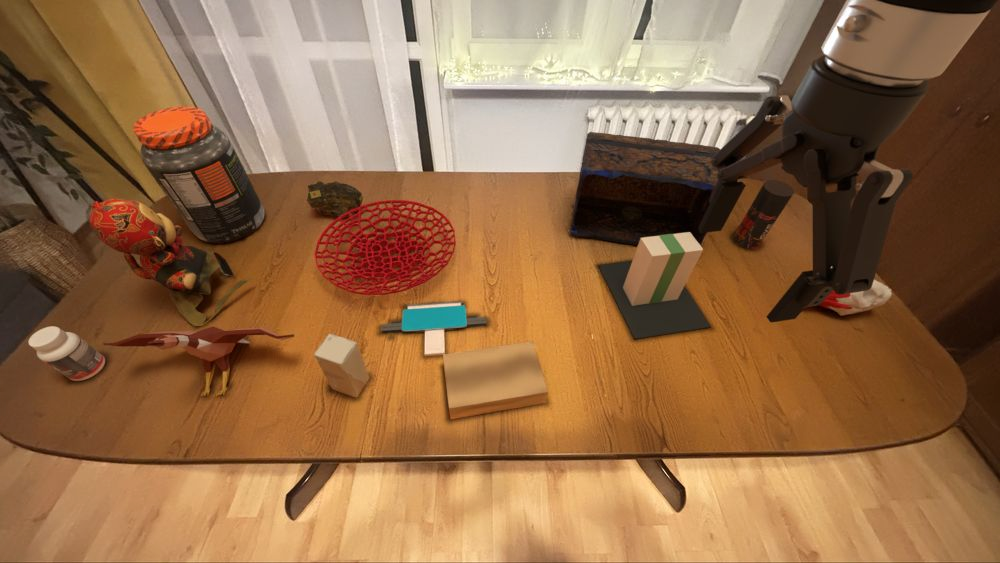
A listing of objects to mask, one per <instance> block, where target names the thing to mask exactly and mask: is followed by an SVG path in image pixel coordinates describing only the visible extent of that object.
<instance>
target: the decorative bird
mask: <svg viewBox="0 0 1000 563" xmlns="http://www.w3.org/2000/svg"><path fill="white" fill-rule="evenodd" d="M248 336H268V337H271V338H273V339H276V340H279V341H284V340H288V339H292V338H295V334H293V333H292V334H285V335H279V334H278V333H276V332H274V331H272V330H269V329H267V328H265V327H247V328H233V329H228V330H227V329H226V330H224V329H221V328H219V327H216V326H214V325H212V326H210V327H207V328H204V329H201V330H198V331H195V330H194V331H193V330H192V331H191V330H177V331H175V330H174V331H173V330H172V331H157V332H147V333H138V334H135V335H132V336H130V337H127V338H124V339H121V340H119V341H115V342H103V343H102V344H103V345H104V346H111V347H122V348H123V347H124V348H125V347H156V348H157V349H160V350H162V351H163V350H164V351H165V350H170V349H172V348H182V349H185V350H186V352H187V353H188V354H189V355H192V356H194V357H197V358H200V359H201V362H202V364H203V368H204V371H205V390H204V391H203V392H202V393H201V394H200V397H206V396H207V397H209V395H210V392H211V387H210V386H211V383H212V380H213V376H214V373H215V365H217V366H218V368H219V369H220V370H221V372H222V389H221V390H220V391H218V392H217V393H216V394H215V396H218V395H219V397H220V396H222V394H223V396H225V395H226V392H227V390H228V388H229V386H227V383H228V380H229V376H230V371H231V367H230V353H232V352H233V350H234V347H235V346H236V345H250V341H249V340H248V339H245V338H246V337H248Z"/></svg>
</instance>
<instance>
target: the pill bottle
mask: <svg viewBox="0 0 1000 563" xmlns="http://www.w3.org/2000/svg"><path fill="white" fill-rule="evenodd" d="M27 344H28V345H29V346H30V347H31V348H32V349H33V350H35V351H36V356H37V358H38V359H39V360H40V361H42V362H43V363H45V364H46V365H48V366H50V367H52V369H54V370H55V371H57V372H59V373H60V374H61V375H63V376H65V377H66V378H68V379H69V380H70V381H74V382H80V381H86V380H88V379H91V378H92V377H94V376H96V375H97V374H98V373H100V372H101V370H102V369H104V366H105V364H106V358H105V356H104V355H103V354H102V353H100V352H99V351H98V350H97V349H96V348H94V347H93V346H91V345H90V344H89V342H87V341H86V340H84V339H83V338H81V336H79V335H78V334H76V333H74V332H71V331H64V330H63V329H62V328H60V327H58V326H54V325H51V326H46V327H43V328H41V329H39V330H37V331H36V332H33V334H32V335H31V336H30V337H29V339H28V343H27Z"/></svg>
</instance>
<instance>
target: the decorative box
mask: <svg viewBox="0 0 1000 563" xmlns="http://www.w3.org/2000/svg"><path fill="white" fill-rule="evenodd" d="M720 149H721V148H719V147H717V146H711V145H703V144H696V143H695V144H694V143H688V142H680V141H679V142H678V141H670V140H667V139H653V138H649V137H639V136H631V135H624V134H613V133H606V132H595V131H589V132H587V134H586V138H585V143H584V147H583V153H582V158H581V159H582V160H581V166H580V171H579V175H578V176H579V177H578V182H577V188H576V192H575V199H574V202H573V205H574V206H573V210H572V218H571V223H570V229H569V230H570V231H569V233H570V235H571V236H574V237H586V238H587V237H588V238H592V239H598V240H604V241H611V242H617V243H623V244H631V245H637V246H638V244H639V241H640V239H641V238H644V237H652V236H659V235H666V234H677V233H686V232H690V233H691V234H692V235H693V237H694V238H695V239H696V241H697V242H698V243H699V245H700V246H701V247H702V244H703V242H704V239H705V237H706V236H707V234H708V232H706V233H700V231H699V230H698V228H699V225H700V223H701V221H702V219H703V217H704V215H705V213H706V211H707V209H708V207H709V205H710V201H709V200H710V196H711V194H712V192H713V190H714V187H715V185H716V183H717V181H718V178H717V174H718V172H719V171H718V169H717V167H713V166H712V165H711V159H712V157H713V156H714V155H715V154H716V153H717V152H718V151H719V150H720Z"/></svg>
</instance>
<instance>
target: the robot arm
mask: <svg viewBox="0 0 1000 563" xmlns="http://www.w3.org/2000/svg"><path fill="white" fill-rule="evenodd" d="M998 1H999V0H845V2H844V4H843V6H842V8H841V10H840V11H839V13H838V15H837V17H836V19H835V20H834V22H833V25H832V26H831V28H830V30H829V32H828V33H827V35H826V37H825V39H824V41H823V42H822V45H821V47H820V48H821V51H822V53H823V55H821V56H819V57H817V58H816V59H814V60H813V61H812V62H811V64H810V66H809V67H808V69H807V71H806V73H805V75H804V77H803V78H802V80H801V82H800V84H799V86H798V87H797V89H796V91H795V93H794V94H785V95H771V96H767V97H765V99H764V101H763V103H762V104H761V106H760V107H759V109H758V111H757V112H756V114H755V116H754V117H753V118H752V119H751V120H750V121H749V122H747V123H746V125H745V126H743V127H742V128H741V129H740V130H739V131H738V132H737V133H736V134H735V135H734V136H733V137H731V138H730V140H729V141H728V142H727V143H725V144H724V146H722V147H721V148H719V149H720V150H719V151H718V152H717V153H716V154H715V155H714V156H713V157H712V159H711V165H712V166H713V167H717V169H718V171H719V172H718V174H717V178H718V181H717V183H716V185H715V187H714V190H713V192H712V194H711V196H710V200H709V201H710V205H709V207H708V209H707V211H706V213H705V215H704V217H703V219H702V221H701V223H700V225H699V228H698V230H699V231H700V233H706V232H707V233H714V232H721V231H722V230H723V229H724V226H725V225H726V223H727V221H728V219H729V218H730V215H731V213H732V212H733V210H734V208H735V206H736V204H737V202H738V200H739V199H740V197H741V195H742V194H743V191H744V189H746V188H745V187H746V186H747V185H746V184H745V183H744V182H743V181H739V180H746V179H748V177H750V176H752V175H754V174H757V173H759V172H763V170H766V169H770V168H772V167H775V166H777V165H779V164H781V169H782V171H784V172H785V173H787V174H789V175H791V176H793V177H794V179H795V181H796V182H797V183H798V184H799V185H800V187H801V186H802V188H806V189H807V190H806V192H807V193H806V194H807V195H806V198H807V201H808V203H809V204H811V205H812V206H811V207H812V270H804V271H802V272H801V273H800V274H799V276H798V277H797V278H796V279H795V280H794V282H792V284H791V285H790V286H789V288H788V289H787V291H786V292H785V293H784V294H783V295H782V296H781V298H780V299H779V300H778V302H777V303H776V304H775V305H774V306H773V308H772V309H771V310H770V312H768V314H766V319H767V320H768V322H769V323H772V324H773V323H778V322H785V321H790V320H796V319H797V318H798V317H799V315H800V314H801V313H802V312H803V311H804V310H805V309H806V308H811V307H816V306H819V304H821V303H822V302H823V301H824V300H825V299H826V298H827V297H828V295H829V294H830V293H831V292H832V291H833V290H834V292H835V293H837V294H840V295H841V294H848V293H855V292H861V291H867V290H870V289H871V287H872V284H873V281H874V280H875V277H876V274H877V271H878V270H877V269H878V266H879V263H880V259H881V256H882V252H883V249H884V245H885V242H886V239H887V234H888V231H889V228H890V224H891V221H892V218H893V214H894V210H895V206H896V203H897V201H898V200H899V198H900V197H901V195H902V194H903V192H904V191H905V190H906V188H907V187H908V185H909V184H910V183H911V181H912V179H913V172H912V170H910V169H909V168H896V169H895V168H891V167H890V166H887V165H885V164H884V163H881V162H879V161H877V157H878V154H879V150H880V148H881V146H882V145H883V144H884V143H885V142H886V141H887V140H888V139H889V138H891V137H892V136H893V135H894V134H895V133H896V132H898V131H899V129H900V128H901V127H902V126H903V125H904V123H905V122H906V120H907V119H908V118H909V117H910V115H911V114H912V112H913V111H914V110H915V109H916V107H917V106H918V105H919V103H921V101H922V100H923V98H924V97H925V96H926V95H927V93H928V92H929V90H930V88H929V80H931V79H935V78H937V77H939V76H941V75H942V74H943V73H944V72H945V71H946V69H947V68H948V67H949V65H950V64H951V63H952V62H953V60H954V59H955V58H956V56H957V55H958V54H959V52H960V51H961V50H962V48H963V47H964V46H965V45H966V44H967V42H968V41H969V39H970V38H971V37H972V35H973V34H974V33H975V31H976V30H977V29H978V27H979V26H980V25H981V24H982V22H983V21H984V20H985V19H986V17H987V16H988V15H989V13H990V11H992V9H993V7H994V6H995V5H996V4H997V2H998ZM780 127H781V138H780V139H779V140H777V141H775V142H773V143H771V144H769V145H767V146H765V147H762V148H761V150H760V151H757V152H755V153H753V154H751V155H749V156H747V155H748V154H750V153H751V152H752V151H753V150H754V149H756V148H757V147H758V146H760V144H761V143H763V142H764V141H765V140H766V139H768V137H770V136H771V135H773V133H774V132H776V131H777V130H778V129H779V128H780ZM746 156H747V157H746ZM858 176H859V182H857V177H858ZM834 185H836V190H834V191H828V190H827V188H829V187H831V186H834ZM852 200H853V201H852ZM831 267H832V268H831Z"/></svg>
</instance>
